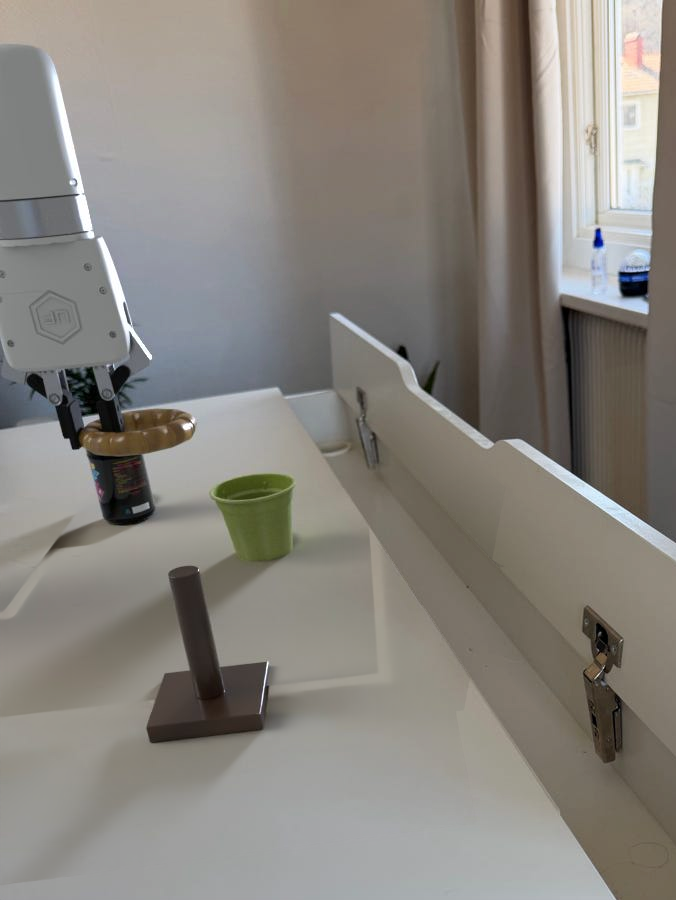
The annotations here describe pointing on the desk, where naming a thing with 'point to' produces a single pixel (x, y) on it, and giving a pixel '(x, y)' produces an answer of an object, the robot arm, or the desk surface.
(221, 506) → the plant pot
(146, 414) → the ring
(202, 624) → the peg stand
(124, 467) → the supplement container
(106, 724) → the desk surface
